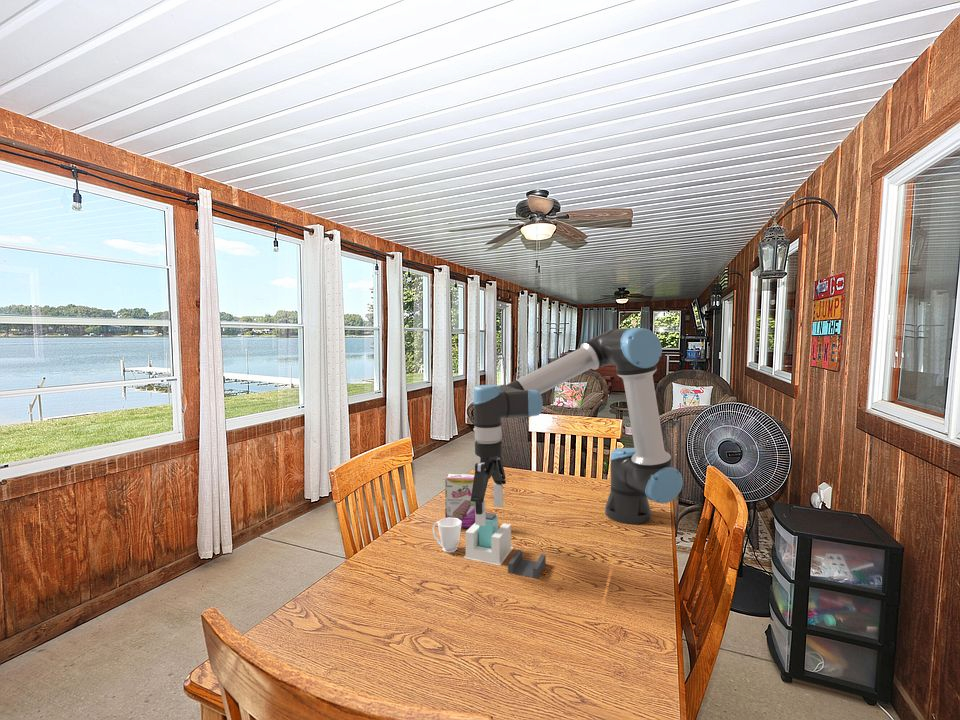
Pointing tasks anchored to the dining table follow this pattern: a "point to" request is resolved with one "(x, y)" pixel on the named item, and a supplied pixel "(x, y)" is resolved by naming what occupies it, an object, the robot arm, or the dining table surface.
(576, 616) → the dining table surface
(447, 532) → the cup
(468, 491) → the candy bar box
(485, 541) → the plug
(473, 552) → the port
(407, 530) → the dining table surface
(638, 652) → the dining table surface
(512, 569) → the holster
